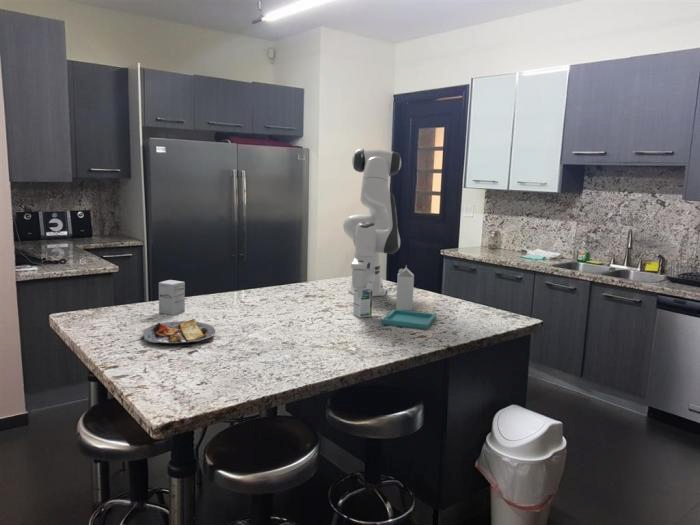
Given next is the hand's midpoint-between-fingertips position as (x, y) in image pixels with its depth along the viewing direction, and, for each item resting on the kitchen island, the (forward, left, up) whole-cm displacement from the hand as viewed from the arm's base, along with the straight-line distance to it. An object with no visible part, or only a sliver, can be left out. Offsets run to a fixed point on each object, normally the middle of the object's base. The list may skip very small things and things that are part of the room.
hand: (363, 295), depth 219 cm
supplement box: (+30, -71, -9) cm, 78 cm away
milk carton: (-20, +13, -9) cm, 25 cm away
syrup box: (0, 0, -9) cm, 9 cm away
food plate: (+55, -49, -9) cm, 74 cm away
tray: (0, +20, -9) cm, 21 cm away
